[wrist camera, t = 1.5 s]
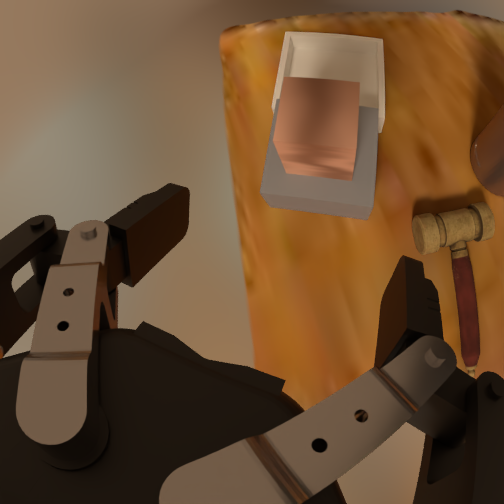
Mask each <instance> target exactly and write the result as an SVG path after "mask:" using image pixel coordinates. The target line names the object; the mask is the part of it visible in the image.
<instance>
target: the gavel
mask: <svg viewBox="0 0 504 504" xmlns="http://www.w3.org/2000/svg"><path fill="white" fill-rule="evenodd" d="M494 230H495V221H494V216H493V213H492V211H491V209H490V207H489V206H488V205H487V204H486V203H485V202H480V203H475V204H470V205H469V206H468V208H463V209H458V210H453V211H449V212H444V213H439V214H436V215H435V216H433V215H432V214H431V213H425V214H420V215H416V216H414V218H413V221H412V232H413V236H414V241H415V245H416V247H417V249H418V251H419V252H420V253H421V254H422V255H425V254H429V253H433V252H437V251H438V250H439V247H441V246H442V247H447V246H450V250H452V253H451V255H452V270H453V276H454V283H455V290H456V298H457V306H458V315H459V325H460V337H461V353H462V358H463V360H464V363H465V365H466V369H467V370H469V371H468V375H470V376H471V377H474V375H475V371H474V369H475V368H476V367H477V362H478V359H479V355H480V337H479V323H478V312H477V302H476V293H475V285H474V278H473V272H472V265H471V262H470V259H469V256H468V252H467V249H466V246H467V245H466V242H468V241H472V240H473V239H474V240H475V241H477V242H479V241H483V240H487V239H490V238H492V236H493V234H494Z"/></svg>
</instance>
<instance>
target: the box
mask: <svg viewBox="0 0 504 504" xmlns="http://www.w3.org/2000/svg"><path fill="white" fill-rule="evenodd" d="M284 77H304V78H319V79H332V80H342V81H351V82H360V93H359V106H364V107H372V108H378V109H379V114H378V133H381V132H382V128H383V124H384V120H385V74H384V51H383V39H378V38H371V37H363V36H354V35H343V34H331V33H313V32H285V37H284V43H283V48H282V53H281V59H280V64H279V69H278V75H277V80H276V86H275V91H274V96H273V102H272V110H273V112H274V110H275V105H276V99H280V97H281V91H282V85H283V79H284Z"/></svg>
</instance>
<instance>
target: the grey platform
mask: <svg viewBox="0 0 504 504" xmlns="http://www.w3.org/2000/svg"><path fill="white" fill-rule="evenodd" d="M279 102H280V99H276V105H275V110H274V116H273V122H272V127H271V133H270V138H269V144H268V150H267V155H266V161H265V167H264V172H263V178H262V183H261V189H260V194H261V195H262V197H263V198H264V199H265V201H266V202H267V203H268V205H269V206H270V207H274V208H282V209H290V210H298V211H306V212H313V213H321V214H328V215H335V216H342V217H349V218H356V219H362V220H367V219H368V217H369V215H370V213H371V211H372V209H373V203H374V192H375V179H376V164H377V145H378V114H379V109H378V108H372V107H364V106H359V116H358V134H357V148H356V156H355V163H354V170H353V177H352V181H346V180H339V179H331V178H323V177H315V176H306V175H297V174H288V173H286V171H285V169H284V166H283V164H282V162H281V159H280V157H279V154H278V152H277V150H276V147H275V145H274V143H273V137H274V131H275V125H276V120H277V114H278V108H279Z"/></svg>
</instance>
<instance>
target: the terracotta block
mask: <svg viewBox="0 0 504 504" xmlns="http://www.w3.org/2000/svg"><path fill="white" fill-rule="evenodd" d="M359 93H360V82H351V81H342V80H332V79H319V78H304V77H284V79H283V85H282V91H281V97H280V102H279V108H278V114H277V120H276V125H275V131H274V137H273V143H274V145H275V147H276V150H277V152H278V154H279V157H280V159H281V162H282V164H283V166H284V169H285V171H286V173H288V174H297V175H306V176H315V177H323V178H331V179H339V180H346V181H352V177H353V170H354V163H355V156H356V148H357V134H358V116H359Z"/></svg>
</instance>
